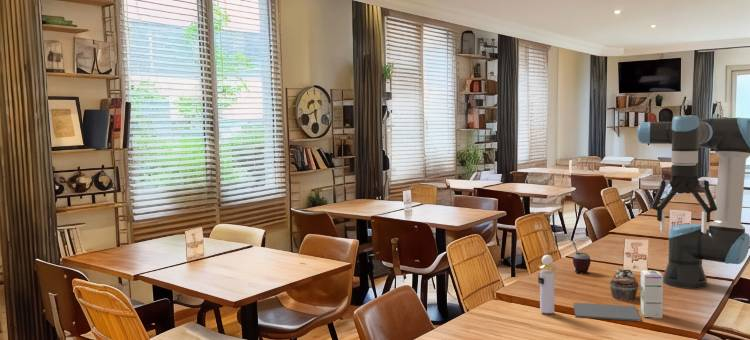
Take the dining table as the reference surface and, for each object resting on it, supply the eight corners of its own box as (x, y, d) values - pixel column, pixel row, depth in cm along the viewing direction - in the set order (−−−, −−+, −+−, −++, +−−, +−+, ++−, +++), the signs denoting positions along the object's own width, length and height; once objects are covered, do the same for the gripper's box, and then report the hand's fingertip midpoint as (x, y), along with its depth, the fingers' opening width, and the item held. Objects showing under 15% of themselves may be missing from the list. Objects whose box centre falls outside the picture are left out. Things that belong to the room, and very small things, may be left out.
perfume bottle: (552, 310, 203) (552, 252, 201) (558, 315, 197) (559, 256, 195) (535, 310, 202) (535, 253, 201) (541, 316, 196) (542, 257, 195)
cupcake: (605, 293, 220) (606, 267, 219) (632, 293, 220) (632, 267, 219) (615, 301, 211) (615, 274, 210) (642, 301, 210) (643, 273, 210)
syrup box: (663, 318, 192) (664, 274, 191) (643, 317, 193) (644, 274, 192) (658, 313, 198) (659, 270, 196) (639, 312, 199) (640, 269, 198)
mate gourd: (593, 273, 250) (594, 237, 248) (582, 276, 245) (582, 240, 244) (578, 269, 256) (579, 235, 255) (567, 272, 251) (567, 237, 250)
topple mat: (634, 308, 203) (634, 306, 203) (641, 321, 190) (641, 319, 190) (573, 304, 209) (573, 302, 209) (575, 317, 195) (575, 315, 195)
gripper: (722, 163, 189) (720, 230, 191) (642, 163, 196) (640, 228, 198) (730, 165, 182) (727, 235, 184) (645, 165, 189) (644, 232, 190)
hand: (682, 231), depth 191 cm, fingers open, 11 cm apart
